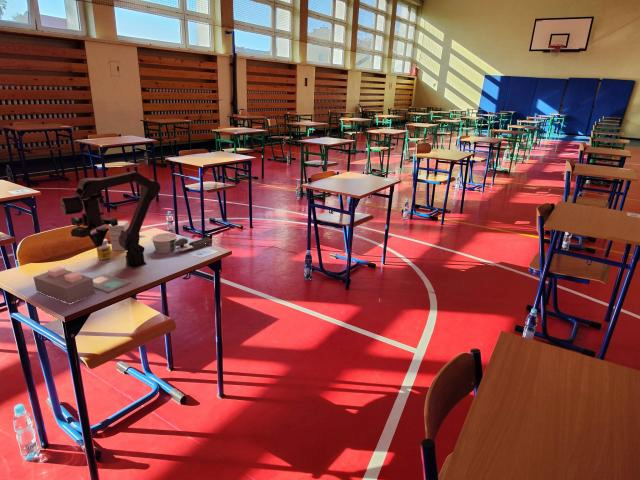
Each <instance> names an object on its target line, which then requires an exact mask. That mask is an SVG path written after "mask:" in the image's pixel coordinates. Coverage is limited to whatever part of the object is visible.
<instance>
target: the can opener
mask: <svg viewBox="0 0 640 480" xmlns="http://www.w3.org/2000/svg"><path fill="white" fill-rule="evenodd" d="M205 243H206V244H205ZM209 244H211V245H212V244H213V240H212V238H209V237H204V238H201V239H196V240H194V241H190V242H189V240H188V238H186V237H185V238H183V237H182V238H179V239H178V240H177V239H176V242H175V246H176V249H175V250H177V251H180V252H183V251H187V250H190V249H193V250H198V249H201V248H204V247H207V246H210V245H209Z"/></svg>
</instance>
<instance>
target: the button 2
mask: <svg viewBox="0 0 640 480" xmlns="http://www.w3.org/2000/svg"><path fill="white" fill-rule="evenodd" d="M71 272H72V273H69V274H67V275H64V277H65V281H67V282H70V283H73V282H76V281H78V280H81V279H82V275H83V274H82V273H80V272H77V271H71Z"/></svg>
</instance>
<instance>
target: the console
mask: <svg viewBox="0 0 640 480" xmlns="http://www.w3.org/2000/svg"><path fill="white" fill-rule="evenodd" d="M72 272H73V271H71V270H68V269H65V273H66V274H63V275H60V276H58V277H52V276H49V273H48V271H47V272H44V273H41V274H39V275H36V276H33V281H34V285H35V289H36V292H37V291H39V292H41V293H43V294H45V295H48V296H51V297H54V298H56V299H59V300H62V301H65V302H67V303H72V302H75V301H77V300H80V299H82V300H84V299H83V298H85V297H87V298H89V297H91V296H94V295H96V291H95V288H94V285H93V279H92V278H93V277H90V276H86V275H83V274H81V275H82V279H81V280H78V281H76V282H73V283H70V282H67V281H65V277H64V275H67V274H69V273H72ZM93 294H94V295H93ZM45 295H44V296H45ZM90 295H91V296H90ZM88 296H89V297H88ZM85 299H86V298H85ZM80 301H81V300H80Z"/></svg>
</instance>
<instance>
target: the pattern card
mask: <svg viewBox="0 0 640 480" xmlns="http://www.w3.org/2000/svg"><path fill="white" fill-rule="evenodd" d="M91 278H92V279H93V285H94V290H95V289H96V290H98V291H101V292H104V293H107V294H109V293H112V292H113V291H116V290H118V289H121V288H123V287H126V286H128V285H130V284H132V283H131V281H130V280H126V279H123V278H120V277H117V276H114V275H110V274H107V273H102V274H100V275H97V276H95V277H91Z"/></svg>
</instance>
